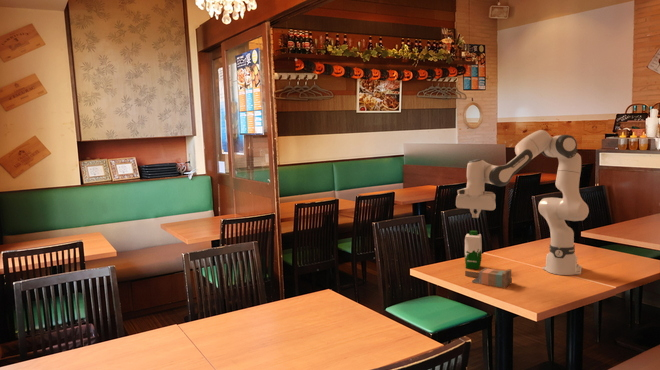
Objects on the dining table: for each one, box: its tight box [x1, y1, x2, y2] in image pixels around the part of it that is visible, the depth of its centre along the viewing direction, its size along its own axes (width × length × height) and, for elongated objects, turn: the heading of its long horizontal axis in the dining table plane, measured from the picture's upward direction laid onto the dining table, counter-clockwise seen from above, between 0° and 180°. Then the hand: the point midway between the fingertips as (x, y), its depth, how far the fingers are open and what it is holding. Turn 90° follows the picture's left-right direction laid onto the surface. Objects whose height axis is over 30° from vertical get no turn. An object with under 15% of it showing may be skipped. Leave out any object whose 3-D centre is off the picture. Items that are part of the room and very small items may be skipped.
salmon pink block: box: [481, 268, 495, 286], centre depth 254 cm, size 8×4×6 cm, turn 142°
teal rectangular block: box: [494, 270, 506, 288], centre depth 249 cm, size 8×4×6 cm, turn 142°
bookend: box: [471, 267, 488, 285], centre depth 256 cm, size 8×5×6 cm, turn 142°
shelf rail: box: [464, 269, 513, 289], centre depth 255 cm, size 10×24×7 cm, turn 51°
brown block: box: [487, 269, 502, 287], centre depth 252 cm, size 8×4×6 cm, turn 142°
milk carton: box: [464, 230, 483, 270], centre depth 281 cm, size 9×9×20 cm
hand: (475, 217), depth 261 cm, fingers closed
